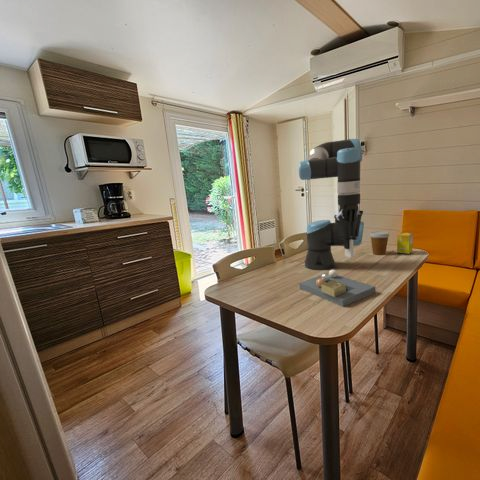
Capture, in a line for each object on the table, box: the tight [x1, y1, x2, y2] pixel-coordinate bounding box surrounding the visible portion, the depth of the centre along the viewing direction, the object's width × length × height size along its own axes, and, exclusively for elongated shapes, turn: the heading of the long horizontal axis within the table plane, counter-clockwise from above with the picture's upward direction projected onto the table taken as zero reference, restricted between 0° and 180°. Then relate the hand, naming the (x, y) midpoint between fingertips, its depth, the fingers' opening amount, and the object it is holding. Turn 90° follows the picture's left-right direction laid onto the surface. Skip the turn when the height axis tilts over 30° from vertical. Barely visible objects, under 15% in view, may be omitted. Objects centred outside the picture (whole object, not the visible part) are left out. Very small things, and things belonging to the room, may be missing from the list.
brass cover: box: [321, 280, 346, 297], centre depth 97 cm, size 6×6×3 cm
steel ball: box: [320, 272, 330, 281], centre depth 108 cm, size 3×3×3 cm
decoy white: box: [328, 269, 338, 278], centre depth 112 cm, size 3×3×3 cm
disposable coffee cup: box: [369, 230, 390, 256], centre depth 147 cm, size 10×10×12 cm
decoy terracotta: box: [316, 279, 325, 287], centre depth 103 cm, size 3×3×3 cm
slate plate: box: [298, 272, 376, 307], centre depth 105 cm, size 22×18×2 cm
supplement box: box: [396, 232, 414, 256], centre depth 143 cm, size 6×6×11 cm
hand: (349, 256), depth 99 cm, fingers closed
